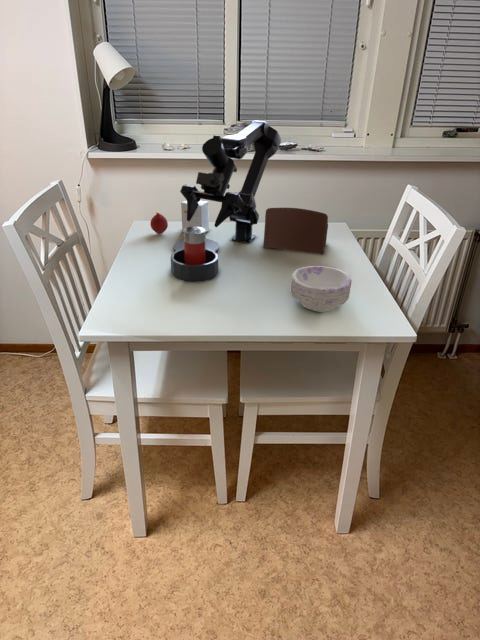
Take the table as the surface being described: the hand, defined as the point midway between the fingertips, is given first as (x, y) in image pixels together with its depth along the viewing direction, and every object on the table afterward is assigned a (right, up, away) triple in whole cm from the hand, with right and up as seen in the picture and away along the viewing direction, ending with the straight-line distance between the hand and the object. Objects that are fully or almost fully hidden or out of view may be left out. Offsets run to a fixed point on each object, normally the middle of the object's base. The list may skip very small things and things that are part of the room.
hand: (201, 223), depth 140 cm
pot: (-2, -13, +4) cm, 14 cm away
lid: (-3, -4, +18) cm, 19 cm away
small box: (-5, +4, +33) cm, 34 cm away
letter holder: (+29, -3, +24) cm, 38 cm away
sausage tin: (-2, -13, +4) cm, 14 cm away
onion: (-17, +2, +29) cm, 34 cm away
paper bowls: (+32, -23, -11) cm, 41 cm away
